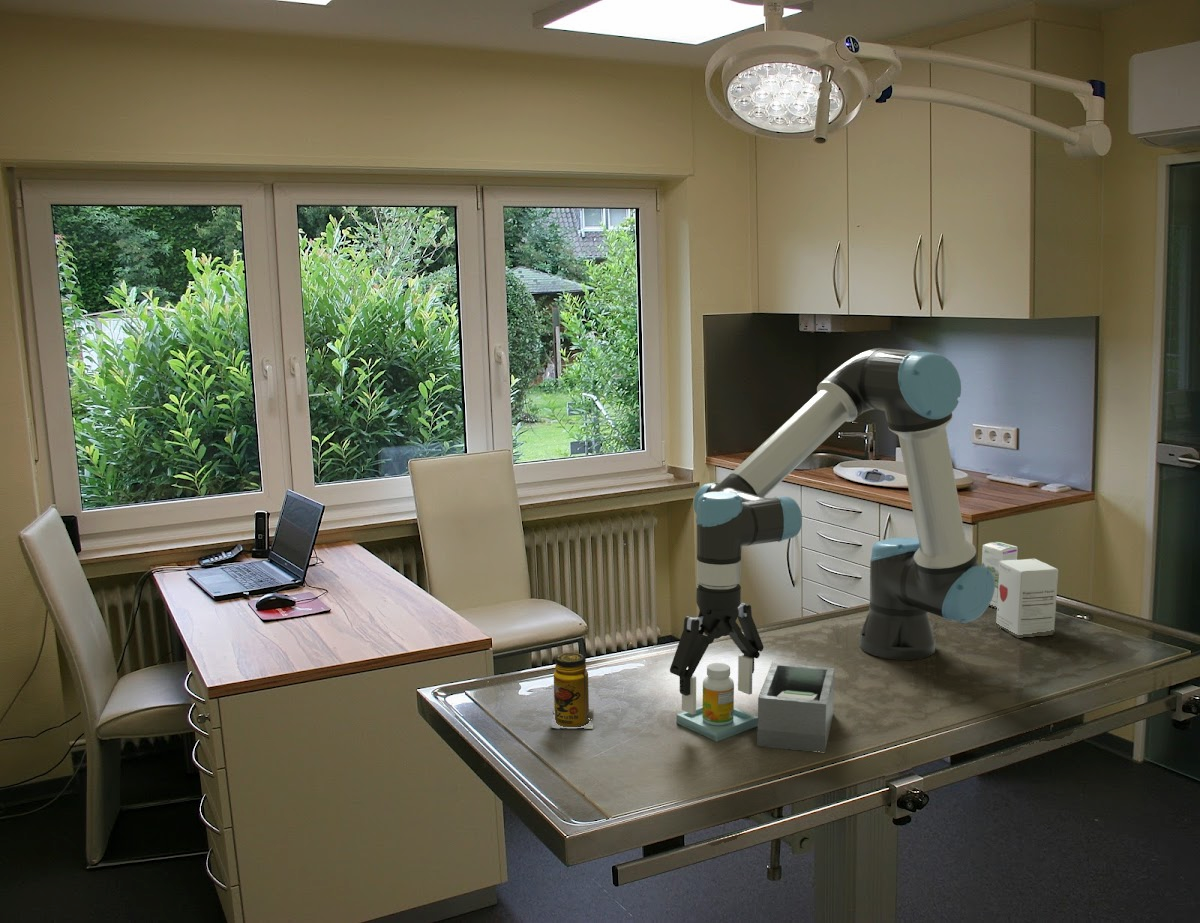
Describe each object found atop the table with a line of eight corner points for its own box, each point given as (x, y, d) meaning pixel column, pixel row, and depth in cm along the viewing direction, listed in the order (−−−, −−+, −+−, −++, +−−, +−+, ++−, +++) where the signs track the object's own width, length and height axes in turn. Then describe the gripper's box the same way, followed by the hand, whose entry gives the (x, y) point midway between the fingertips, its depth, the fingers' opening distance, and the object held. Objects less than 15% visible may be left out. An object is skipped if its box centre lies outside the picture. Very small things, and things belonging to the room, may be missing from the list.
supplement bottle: (697, 716, 194) (697, 663, 193) (724, 712, 196) (725, 659, 194) (710, 728, 189) (711, 674, 188) (738, 723, 191) (739, 670, 189)
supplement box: (994, 625, 244) (997, 559, 241) (1031, 623, 245) (1035, 557, 243) (1016, 639, 235) (1020, 570, 232) (1055, 636, 237) (1059, 568, 234)
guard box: (771, 707, 200) (772, 662, 199) (833, 713, 197) (834, 668, 196) (757, 746, 184) (758, 697, 183) (824, 753, 181) (826, 704, 179)
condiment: (550, 730, 191) (549, 663, 189) (553, 710, 200) (552, 647, 198) (593, 729, 191) (592, 663, 189) (593, 710, 200) (593, 646, 197)
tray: (717, 708, 200) (717, 700, 199) (758, 725, 192) (758, 717, 192) (676, 723, 194) (676, 714, 193) (717, 741, 186) (717, 732, 186)
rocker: (780, 700, 195) (780, 689, 195) (819, 704, 193) (820, 693, 193) (773, 707, 186) (774, 695, 186) (814, 711, 184) (815, 699, 184)
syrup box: (1015, 606, 257) (1019, 545, 255) (998, 610, 254) (1001, 549, 252) (995, 600, 262) (999, 540, 260) (978, 604, 259) (981, 543, 257)
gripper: (753, 566, 199) (751, 678, 203) (648, 592, 184) (649, 713, 187) (784, 574, 193) (782, 690, 197) (679, 602, 178) (679, 727, 182)
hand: (717, 701), depth 192 cm, fingers open, 13 cm apart
